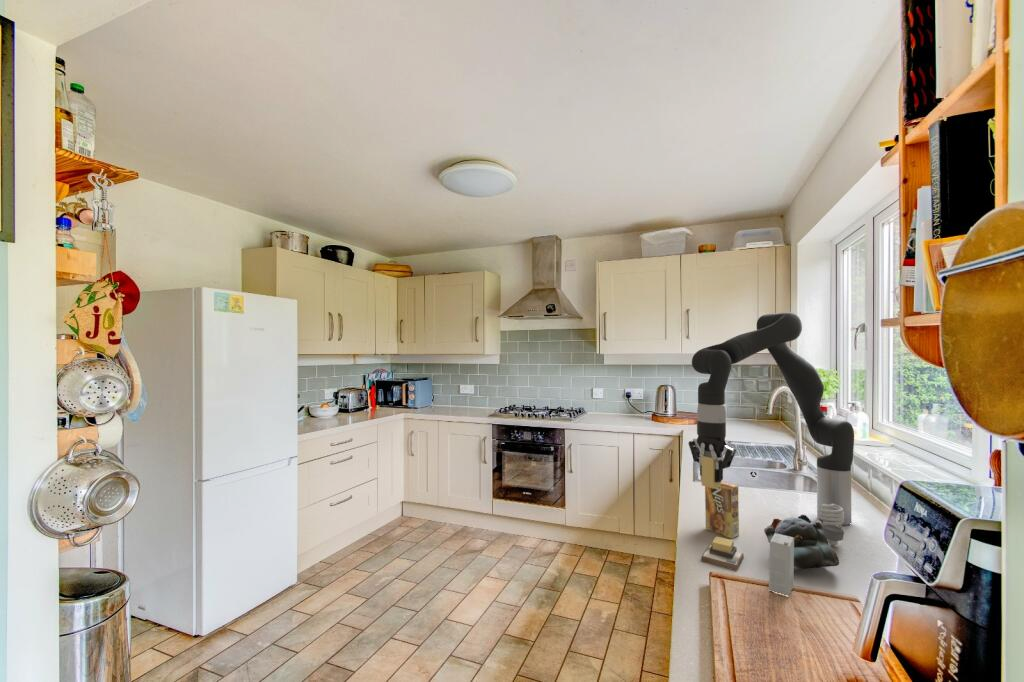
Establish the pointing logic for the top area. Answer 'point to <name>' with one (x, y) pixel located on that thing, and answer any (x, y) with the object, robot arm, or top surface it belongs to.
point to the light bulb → (832, 523)
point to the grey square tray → (723, 558)
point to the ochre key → (723, 545)
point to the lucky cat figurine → (805, 542)
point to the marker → (709, 471)
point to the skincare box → (781, 564)
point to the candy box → (722, 509)
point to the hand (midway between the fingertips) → (711, 479)
